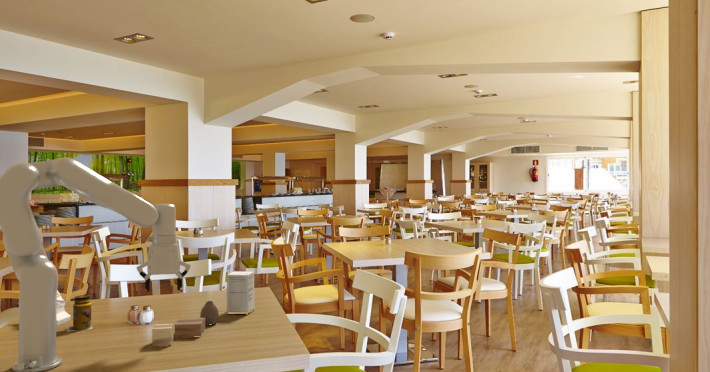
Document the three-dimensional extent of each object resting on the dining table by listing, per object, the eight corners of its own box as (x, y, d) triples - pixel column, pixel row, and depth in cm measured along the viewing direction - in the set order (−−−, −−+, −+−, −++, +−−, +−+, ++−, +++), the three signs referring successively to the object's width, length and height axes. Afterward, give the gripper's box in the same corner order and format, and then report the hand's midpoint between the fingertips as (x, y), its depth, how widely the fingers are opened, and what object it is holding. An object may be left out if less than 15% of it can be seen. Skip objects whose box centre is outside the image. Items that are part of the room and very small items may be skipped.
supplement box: (254, 310, 226) (255, 271, 226) (248, 315, 216) (248, 274, 216) (233, 309, 227) (233, 270, 227) (225, 314, 217) (226, 274, 217)
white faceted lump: (53, 320, 212) (63, 285, 214) (72, 329, 204) (83, 293, 206) (21, 318, 202) (32, 282, 204) (39, 328, 194) (51, 290, 196)
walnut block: (200, 338, 184) (201, 324, 184) (174, 338, 183) (174, 324, 183) (205, 331, 193) (205, 317, 193) (180, 331, 192) (180, 318, 192)
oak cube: (171, 346, 174) (171, 328, 174) (152, 347, 173) (152, 329, 173) (173, 340, 180) (173, 323, 180) (155, 341, 179) (155, 324, 179)
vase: (196, 325, 201) (196, 302, 201) (209, 321, 207) (209, 298, 207) (209, 327, 198) (209, 304, 198) (222, 323, 204) (222, 300, 204)
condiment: (93, 329, 194) (93, 296, 194) (67, 332, 189) (67, 299, 189) (90, 324, 200) (91, 293, 200) (65, 327, 195) (66, 295, 196)
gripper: (134, 241, 171) (134, 293, 171) (189, 240, 175) (189, 291, 175) (138, 239, 179) (138, 289, 179) (191, 238, 182) (191, 287, 182)
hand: (163, 290), depth 177 cm, fingers open, 9 cm apart
